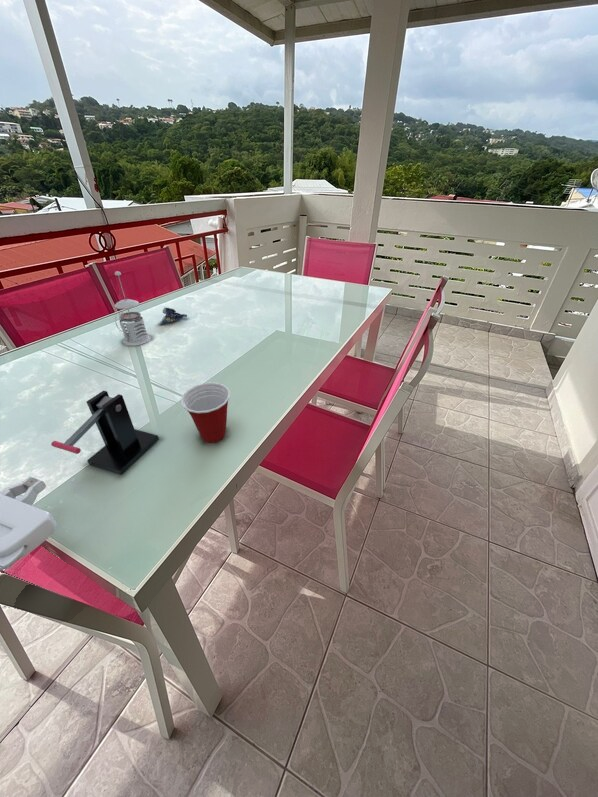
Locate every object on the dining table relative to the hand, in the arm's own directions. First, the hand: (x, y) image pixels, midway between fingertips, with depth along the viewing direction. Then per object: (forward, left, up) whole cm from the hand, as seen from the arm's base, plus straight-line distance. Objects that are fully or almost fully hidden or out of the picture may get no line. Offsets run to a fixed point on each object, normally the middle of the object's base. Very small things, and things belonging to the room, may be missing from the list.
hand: (38, 481), depth 57 cm
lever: (+11, +6, +2) cm, 13 cm away
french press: (+37, +68, -9) cm, 78 cm away
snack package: (+56, +79, -9) cm, 97 cm away
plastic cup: (+33, +1, -9) cm, 34 cm away
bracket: (+15, +9, -8) cm, 19 cm away
